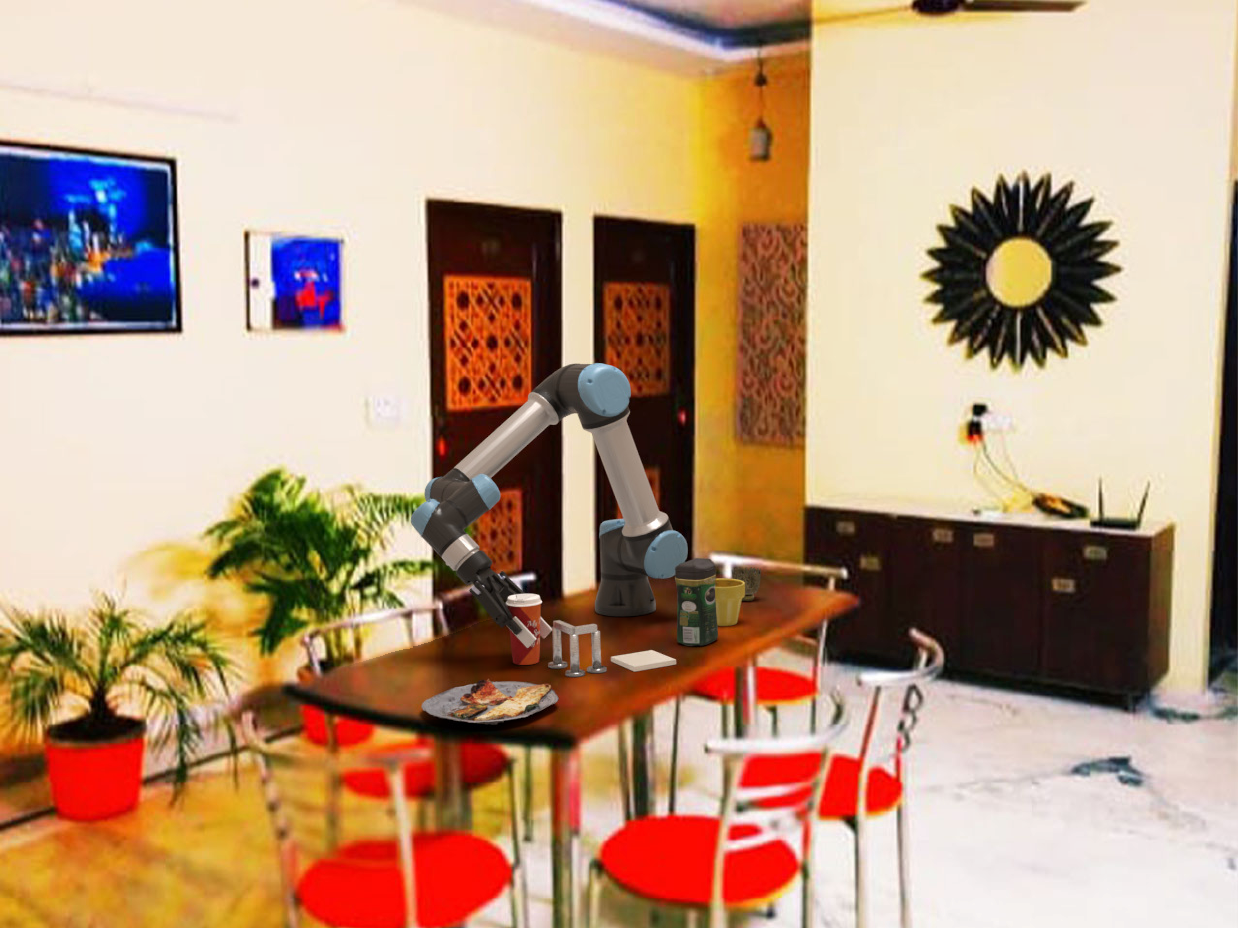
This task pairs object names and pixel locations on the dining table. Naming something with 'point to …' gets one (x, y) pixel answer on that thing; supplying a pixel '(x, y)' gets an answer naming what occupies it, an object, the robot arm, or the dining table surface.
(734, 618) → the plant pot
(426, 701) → the food plate
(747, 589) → the cup
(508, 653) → the dining table surface
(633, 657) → the cream tile
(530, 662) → the paper cup
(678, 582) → the coffee jar
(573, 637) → the bent rail
